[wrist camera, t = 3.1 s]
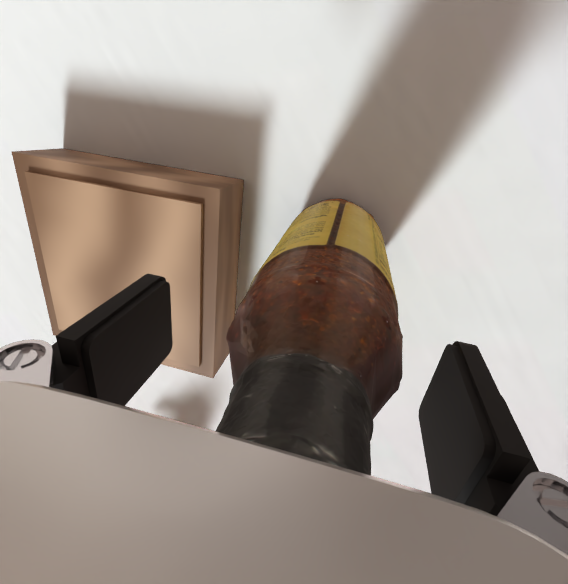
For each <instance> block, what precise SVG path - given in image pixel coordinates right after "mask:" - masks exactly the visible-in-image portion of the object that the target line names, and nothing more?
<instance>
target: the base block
mask: <svg viewBox="0 0 568 584" xmlns="http://www.w3.org/2000/svg"><path fill="white" fill-rule="evenodd" d="M12 155H13V160H14V164H15V169H16V173H17V177H18V182H19V186H20V190H21V195H22V199H23V204H24V208H25V212H26V217H27V221H28V226H29V230H30V234H31V239H32V243H33V248H34V252H35V256H36V261H37V265H38V270H39V274H40V278H41V283H42V287H43V291H44V296H45V300H46V305H47V309H48V313H49V318H50V322H51V327H52V331H53V335H58V334H59V333H61V332H62V331H64V330H65V329H66V328H68V327H69V326H71V325H72V324H74V323H75V322H77V321H78V320H80V319H81V318H83V317H84V316H85V315H87V314H88V313H90V312H91V311H93V310H94V309H96V308H97V307H99V306H100V305H102V304H103V303H104V302H106V301H107V300H109V299H110V298H112V297H113V296H115V295H116V294H118V293H119V292H121V291H122V290H123V289H125V288H126V287H128V286H129V285H131V284H132V283H134V282H135V281H137V280H138V279H140V278H141V277H142V276H144V275H145V274H153V275H158V276H162V277H164V278H165V279H166V282H169V284H170V295H171V318H172V341H173V345H172V349H171V352H170V353H169V355H168V356H167V357H166V358H165V359H164V361H163V362H162V363H161V364H163V365H166V366H170V367H174V368H177V369H181V370H185V371H188V372H192V373H196V374H199V375H203V376H207V377H210V378H214V376H215V374H216V373H217V371H218V370H219V368H220V367H221V365H222V364H223V362H224V360H225V359H226V357H227V356H228V354H229V353H230V352H229V346H228V342H227V340H226V335H227V331H228V328H229V327H230V326H231V323H232V321H233V320H234V317H235V303H236V288H237V273H238V258H239V243H240V228H241V214H242V199H243V184H244V180H242V179H236V178H230V177H224V176H219V175H213V174H207V173H201V172H195V171H190V170H184V169H178V168H172V167H167V166H161V165H155V164H149V163H143V162H138V161H132V160H126V159H120V158H115V157H109V156H103V155H97V154H91V153H86V152H80V151H74V150H68V149H48V150H31V151H15V152H12Z"/></svg>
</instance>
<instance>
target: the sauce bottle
mask: <svg viewBox="0 0 568 584" xmlns="http://www.w3.org/2000/svg"><path fill="white" fill-rule="evenodd" d="M402 338H403V336H402V334H401V331H400V326H399V323H398V304H397V300H396V295H395V291H394V286H393V283H392V278H391V273H390V268H389V264H388V259H387V254H386V250H385V245H384V240H383V237H382V233H381V231H380V229H379V227H378V225H377V223H376V222H375V220H374V218H373V216H372V215H371V214H369V213H367V212H366V211H365V210H364V209H363V208H361V207H359V206H358V205H356V204H354V203H352V202H348V201H347V200H344V199H328V200H325V201H321V202H319V203H317V204H314V205H312V206H310V207H308V208H306V209H305V210H304V211H303V212H302V213H300V214H299V215H298V216H297V218H296V219H295V220H294V221H293V223H292V224H291V225H290V227H289V228H288V229H287V231H286V232H285V234H284V235H283V237H282V238H281V240H280V241H279V243H278V244H277V246H276V247H275V249H274V250H273V252H272V253H271V254H270V256H269V257H268V259H267V260H266V261H265V263H264V264H263V266H262V267H261V268H260V270H259V271H258V273H257V274H256V276H255V278H254V279H253V281H252V283H251V286H250V289H249V291H248V292H247V294H246V296H245V298H244V299H243V301H242V302H241V303H240V305H239V307H238V309H237V313H236V315H235V317H234V320H233V321H232V323H231V326H230V327H229V328H228V331H227V335H226V340H227V342H228V346H229V352H230V361H231V369H232V377H233V385H234V386H233V388H232V391H231V393H230V398H229V404H228V406H227V408H226V410H225V412H224V415H223V418H222V420H221V422H220V424H219V425H218V427H217V430H216V432H220V433H223V434H227V435H230V436H234V437H237V438H241V439H245V440H248V441H252V442H255V443H259V444H262V445H266V446H269V447H273V448H276V449H280V450H283V451H287V452H290V453H294V454H297V455H301V456H304V457H308V458H311V459H315V460H318V461H322V462H325V463H329V464H332V465H336V466H339V467H343V468H346V469H349V470H353V471H356V472H360V473H363V474H367V475H370V476H371V458H370V440H371V438H372V433H373V419H374V417H375V416H376V415H377V414H378V412H379V411H380V410H381V408H382V407H383V406H384V405H385V404H386V402H387V401H388V400H389V399H390V398H391V396H392V395H393V394H394V393H395V392H396V391H397V390H398V388H399V385H400V381H401V379H402Z"/></svg>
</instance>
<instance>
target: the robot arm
mask: <svg viewBox="0 0 568 584" xmlns="http://www.w3.org/2000/svg"><path fill="white" fill-rule="evenodd" d="M56 339H57V342H56V343H55V344H53V345H52V346H51V345H50V344H49V343H48V342H45V341H42V340H34V339H33V340H22V341H18V342H14V343H11V344H8V345H5V346H3V347H1V348H0V584H568V482H567V481H565V480H563V479H562V478H559V477H557V476H555V475H552V474H550V473H545V472H539V470H538V468H537V466H536V464H535V462H534V460H533V458H532V456H531V454H530V452H529V450H528V448H527V445H526V443H525V441H524V439H523V437H522V435H521V433H520V431H519V429H518V427H517V425H516V423H515V421H514V419H513V417H512V415H511V413H510V410H509V408H508V406H507V404H506V402H505V400H504V399H503V397H502V396H501V395H500V393H499V391H498V389H497V386H496V384H495V382H494V380H493V378H492V376H491V374H490V372H489V370H488V368H487V366H486V364H485V362H484V359H483V357H482V355H481V353H480V351H479V349H478V347H477V346H476V345H472V344H467V343H463V342H458V341H456V342H454V343H453V345H450V344H448V345H447V346H446V348H445V350H444V352H443V354H442V357H441V359H440V361H439V364H438V366H437V368H436V371H435V373H434V375H433V377H432V380H431V382H430V384H429V387H428V389H427V391H426V394H425V396H424V398H423V401H422V403H421V405H420V409H419V421H420V427H421V433H422V439H423V445H424V451H425V457H426V463H427V469H428V475H429V481H430V487H431V493H432V494H431V493H428V492H424V491H421V490H417V489H414V488H411V487H407V486H404V485H401V484H397V483H394V482H391V481H387V480H384V479H381V478H377V477H374V476H370V475H367V474H363V473H360V472H356V471H353V470H349V469H346V468H343V467H339V466H336V465H332V464H329V463H325V462H322V461H318V460H315V459H311V458H308V457H304V456H301V455H297V454H294V453H290V452H287V451H283V450H280V449H276V448H273V447H269V446H266V445H262V444H259V443H255V442H252V441H248V440H245V439H241V438H237V437H234V436H230V435H227V434H223V433H220V432H216V431H213V430H209V429H205V428H202V427H198V426H195V425H191V424H188V423H184V422H180V421H177V420H173V419H169V418H166V417H162V416H159V415H155V414H151V413H148V412H144V411H140V410H137V409H133V408H130V407H126V406H125V405H126V404H127V403H128V401H129V400H130V399H131V398H132V397H133V396H134V394H135V393H136V392H137V391H138V390H139V389H140V387H141V386H142V385H143V384H144V383H145V382H146V380H147V379H148V378H149V377H150V376H151V375H152V373H153V372H154V371H155V370H156V369H157V368H158V366H159V365H160V364H161V363H162V362H163V361H164V359H165V358H166V357H167V356H168V355H169V353H170V352H171V349H172V345H173V341H172V318H171V295H170V284H169V282H166V279H165V278H164V277H162V276H158V275H153V274H145V275H144V276H142V277H141V278H140V279H138V280H137V281H135V282H134V283H132V284H131V285H129V286H128V287H126V288H125V289H123V290H122V291H121V292H119V293H118V294H116V295H115V296H113V297H112V298H110V299H109V300H107V301H106V302H104V303H103V304H102V305H100V306H99V307H97V308H96V309H94V310H93V311H91V312H90V313H88V314H87V315H85V316H84V317H83V318H81V319H80V320H78V321H77V322H75V323H74V324H72V325H71V326H69V327H68V328H66V329H65V330H64V331H62V332H61V333H59V334H58V335H56Z"/></svg>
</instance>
